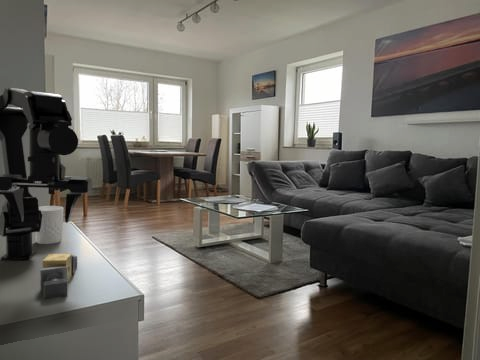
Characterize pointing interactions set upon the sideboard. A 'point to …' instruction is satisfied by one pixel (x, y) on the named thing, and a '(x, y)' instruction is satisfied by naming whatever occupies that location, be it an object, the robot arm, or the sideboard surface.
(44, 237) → the white cup
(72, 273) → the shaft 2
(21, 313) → the sideboard surface
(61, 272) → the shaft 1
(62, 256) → the block
